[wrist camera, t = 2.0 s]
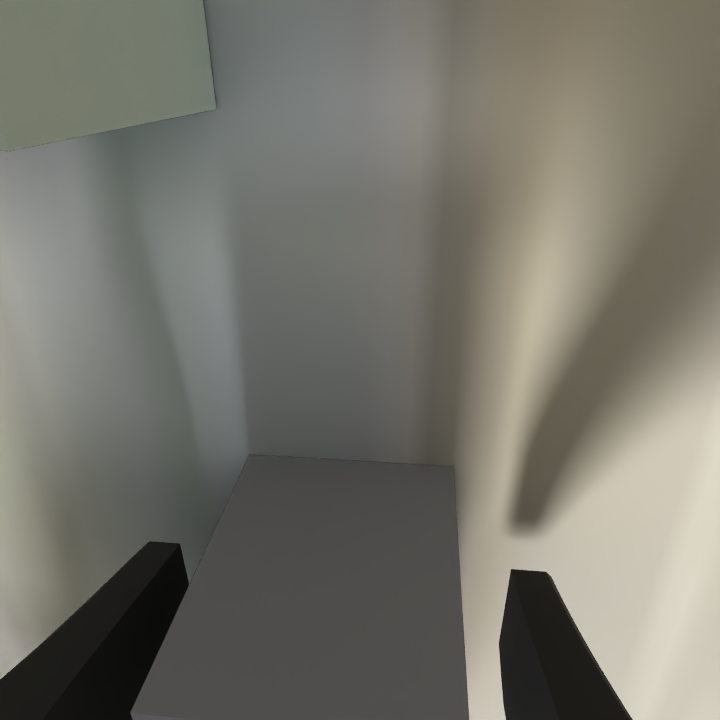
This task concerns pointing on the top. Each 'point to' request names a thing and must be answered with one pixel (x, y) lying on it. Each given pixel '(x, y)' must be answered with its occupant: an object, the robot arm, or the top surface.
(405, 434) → the top surface
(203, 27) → the pale green rectangular bar
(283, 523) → the grey notched block
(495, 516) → the top surface
